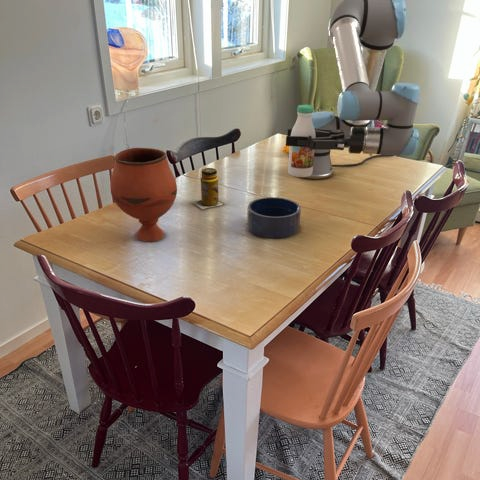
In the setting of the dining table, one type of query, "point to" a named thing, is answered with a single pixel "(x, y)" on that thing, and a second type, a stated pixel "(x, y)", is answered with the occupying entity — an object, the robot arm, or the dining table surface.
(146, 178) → the goblet
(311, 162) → the milk bottle
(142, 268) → the dining table surface
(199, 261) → the dining table surface
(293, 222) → the pot
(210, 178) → the condiment
